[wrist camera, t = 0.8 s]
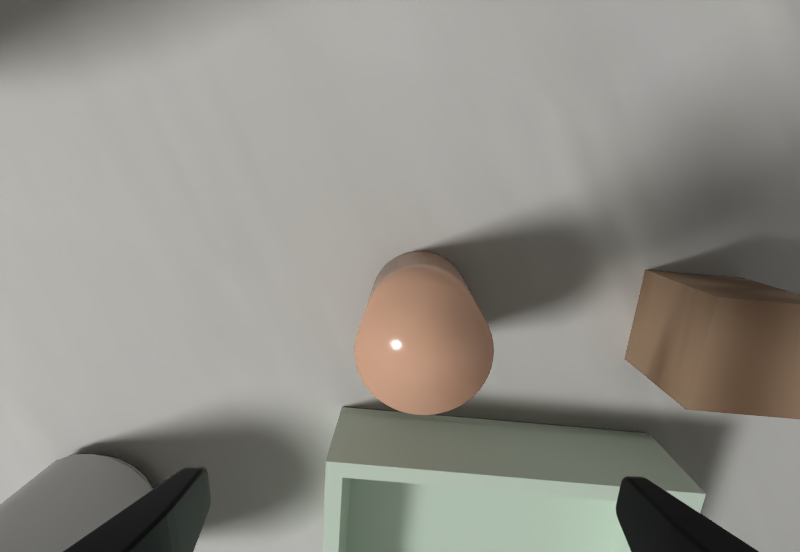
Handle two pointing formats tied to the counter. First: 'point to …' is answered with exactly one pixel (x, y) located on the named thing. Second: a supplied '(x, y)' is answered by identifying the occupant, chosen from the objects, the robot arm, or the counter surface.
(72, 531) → the can
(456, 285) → the egg
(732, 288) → the walnut cube
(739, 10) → the counter surface
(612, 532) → the box
